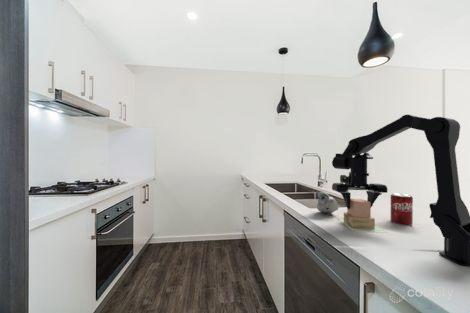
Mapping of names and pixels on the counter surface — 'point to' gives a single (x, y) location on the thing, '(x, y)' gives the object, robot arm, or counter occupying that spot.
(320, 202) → the grey rounded lump
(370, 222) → the oak block
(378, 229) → the build plate
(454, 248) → the robot arm
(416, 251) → the counter surface
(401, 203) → the soda can
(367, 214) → the terracotta block
